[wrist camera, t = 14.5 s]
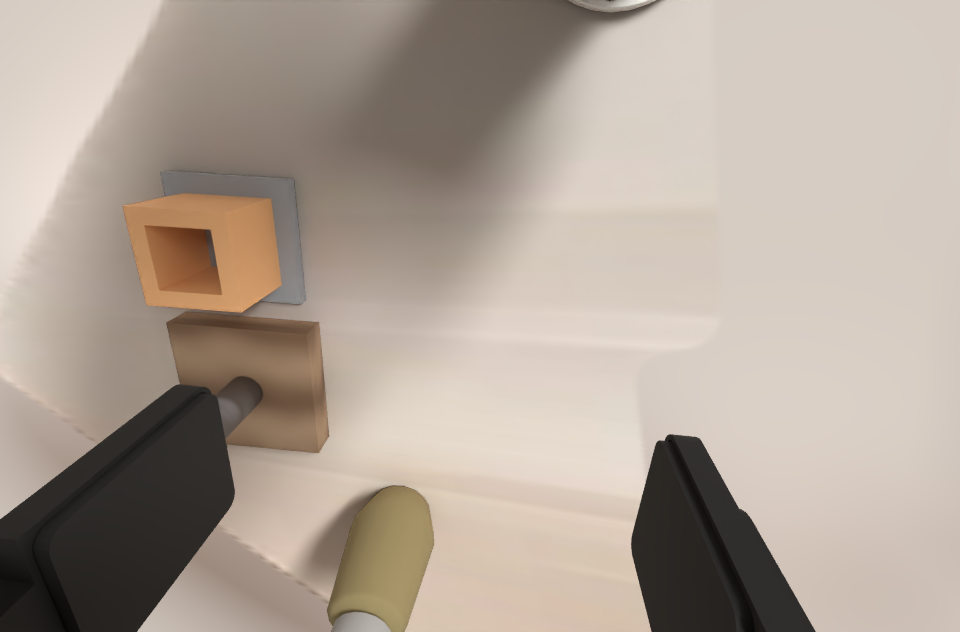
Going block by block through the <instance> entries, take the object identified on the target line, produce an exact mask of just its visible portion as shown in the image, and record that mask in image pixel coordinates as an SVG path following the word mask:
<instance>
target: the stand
mask: <svg viewBox="0 0 960 632" xmlns="http://www.w3.org/2000/svg"><path fill="white" fill-rule="evenodd" d="M167 328H168V332H169V337H170V341H171V346H172V350H173V355H174V359H175V363H176V368H177V372H178V377H179V381H180V384H182V385H192V386H202V387H207V388H209V390H210V391H211V393H212V394H213V395H215V396H216V397H217V399H218V402H219V408H220V413H221V418H222V424H223V429H224V435H225V440H226V444H231V445H241V446H251V447H261V448H272V449H282V450H292V451H303V452H313V453H319V452H320V450H321V449H322V447H323V445H324V444H325V442H326V440H327V439H328V437H329V430H328V419H327V407H326V396H325V385H324V373H323V362H322V350H321V339H320V328H319V322H306V321H294V320H282V319H270V318H258V317H245V316H233V315H221V314H209V313H196V312H185V313H183V314H181V315H179V316H178V317H176V318H174V319H172V320H171V321H169V322H167Z"/></svg>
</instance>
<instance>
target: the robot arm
mask: <svg viewBox="0 0 960 632" xmlns="http://www.w3.org/2000/svg"><path fill="white" fill-rule="evenodd" d="M568 1H570V2H572V3H573V4H575V5H578V6H581V7H584V8H587V9H590V10H593V11H602V12H619V11H628V10H633V9H636V8H639V7H642V6H644V5H647V4H650V3H652V2H654V1H655V0H612V1H607V0H568ZM234 495H235V489H234V484H233V478H232V473H231V467H230V462H229V456H228V451H227V446H226V440H225V435H224V429H223V424H222V418H221V413H220V408H219V402H218V399H217V397H216V396H215V395H213V394H212V393H211V391H210V390H209V388H207V387H202V386H192V385H182V384H180V385H176V386H174V387H172V388H171V389H170V390H168V391H167V392H166V393H164V394H163V395H162V396H161V397H159V398H158V399H157V400H155V401H154V402H153V403H151V404H150V405H149V406H148V407H146V408H145V409H144V410H142V411H141V412H140V413H138V414H137V415H136V416H134V417H133V418H132V419H131V420H129V421H128V422H127V423H125V424H124V425H123V426H121V427H120V428H119V429H118V430H116V431H115V432H114V433H112V434H111V435H110V436H108V437H107V438H106V439H104V440H103V441H102V442H101V443H99V444H98V445H97V446H95V447H94V448H93V449H91V450H90V451H89V452H88V453H86V454H85V455H84V456H82V457H81V458H80V459H78V460H77V461H76V462H75V463H73V464H72V465H71V466H69V467H68V468H67V469H65V470H64V471H63V472H61V473H60V474H59V475H58V476H56V477H55V478H54V479H52V480H51V481H50V482H48V483H47V484H46V485H44V486H43V487H42V488H41V489H39V490H38V491H37V492H36V493H34V494H33V495H31V496H30V497H29V498H28V499H26V500H25V501H24V502H22V503H21V504H20V505H18V506H17V507H16V508H14V509H13V510H12V511H11V512H9V513H8V514H7V515H5V516H4V517H3V518H2V519H0V632H137V631H138V629H139V628H140V627H141V625H142V624H143V622H145V620H146V619H147V617H148V616H149V615H150V613H151V612H152V611H153V610H154V608H155V607H156V606H157V604H158V603H159V602H160V600H161V599H162V598H163V596H164V595H165V594H166V592H167V591H168V589H169V588H170V587H171V586H172V584H173V583H174V582H175V580H176V579H177V578H178V576H179V575H180V574H181V572H182V571H183V570H184V568H185V567H186V566H187V564H188V563H189V562H190V560H191V559H192V558H193V556H194V555H195V554H196V552H197V551H198V550H199V548H200V547H201V546H202V544H203V543H204V542H205V540H206V539H207V538H208V536H209V535H210V534H211V532H212V531H213V530H214V528H215V527H216V526H217V524H218V523H219V522H220V520H221V519H222V518H223V517H224V515H225V514H226V513H227V511H228V510H229V508H230V507H231V505H232V503H233V500H234ZM631 549H632V556H633V560H634V564H635V568H636V572H637V576H638V580H639V584H640V587H641V591H642V595H643V599H644V603H645V607H646V611H647V615H648V619H649V623H650V627H651V631H652V632H815V630H814V628H813V626H812V625H811V623H810V621H809V619H808V618H807V616H806V614H805V612H804V611H803V609H802V607H801V605H800V604H799V602H798V600H797V598H796V597H795V595H794V593H793V591H792V590H791V588H790V586H789V584H788V583H787V581H786V579H785V577H784V576H783V574H782V572H781V570H780V569H779V567H778V565H777V563H776V562H775V560H774V558H773V557H772V555H771V553H770V551H769V549H768V548H767V546H766V544H765V542H764V541H763V539H762V537H761V535H760V534H759V532H758V530H757V528H756V527H755V525H754V523H753V521H752V520H751V518H750V517H749V516H748V514H747V513H746V512H744V511H743V510H741V509H739V508H738V506H737V504H736V502H735V501H734V499H733V497H732V495H731V493H730V492H729V490H728V488H727V486H726V485H725V483H724V481H723V479H722V477H721V475H720V474H719V472H718V470H717V468H716V466H715V465H714V463H713V461H712V459H711V458H710V456H709V454H708V452H707V450H706V448H705V447H704V445H703V443H702V441H701V440H700V439H699V438H697V437H691V436H681V435H671V434H670V435H668V436H667V437H666V439H665V441H658V442H657V443H656V446H655V449H654V453H653V457H652V460H651V464H650V468H649V472H648V476H647V480H646V484H645V487H644V491H643V495H642V499H641V503H640V507H639V511H638V514H637V518H636V522H635V526H634V530H633V534H632V540H631Z"/></svg>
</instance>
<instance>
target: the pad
mask: <svg viewBox="0 0 960 632" xmlns="http://www.w3.org/2000/svg"><path fill="white" fill-rule="evenodd" d="M160 173H161V178H162V183H163V188H164V193H165V197H167V196H171V195H176V194H181V193H191V194H207V195H223V196H239V197H256V198H271V201H272V209H273V218H274V226H275V234H276V242H277V250H278V258H279V266H280V275H281V283H282V285H281V286H280V287H278V288H277V289H276V290H274V291H273V292H271V293H270V294H268V295H267V296H265V297H264V298H262V299H261V300H259V301H265V302H278V303H291V304H302V303H303V302H304V301H305V300H306V298H305V288H304V278H303V267H302V257H301V247H300V237H299V227H298V216H297V206H296V196H295V186H294V179H290V178H274V177H259V176H243V175H228V174H212V173H197V172H181V171H164V172H160ZM205 234H206V240H207V245H208V251H209V257H210V262H211V266H213V267H217V262H216V256H215V251H214V245H213V239H212V234H211V230H209V229H205Z"/></svg>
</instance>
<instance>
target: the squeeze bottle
mask: <svg viewBox="0 0 960 632" xmlns="http://www.w3.org/2000/svg"><path fill="white" fill-rule="evenodd" d="M433 546H434V535H433V527H432V522H431V516H430V510H429V505H428V503H427V502H426V500H425V498H424V497H423V496H422V495H420V494H419V493H418V492H417V491H415V490H413V489H410V488H407V487H405V486H391V487H388V488H384V489H382V490H381V491H380V492H379V493H377V494H376V495H375V496H374V497H373V498H372V499H371V500H370V501H369V502H368V503H367V505H366V506H365V507H364V508H363V509H362V510H361V511H360V512H359V513H358V514H357V515H356V516H355V518H354V521H353V523H352V526H351V529H350V533H349V536H348V539H347V543H346V546H345V550H344V553H343V557H342V560H341V563H340V567H339V570H338V574H337V577H336V581H335V584H334V588H333V591H332V594H331V598H330V601H329V605H328V608H327V613H328V617H329V621H330V623H331V624H332V626H333V628H332V630H331V632H404V631H405V629H406V627H407V625H408V622H409V619H410V615H411V612H412V609H413V606H414V603H415V600H416V597H417V594H418V591H419V588H420V585H421V582H422V579H423V576H424V573H425V570H426V567H427V564H428V561H429V558H430V555H431V552H432V549H433Z"/></svg>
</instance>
